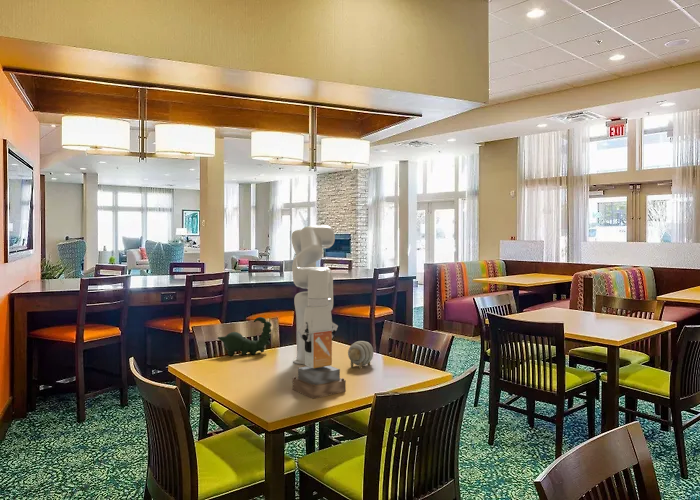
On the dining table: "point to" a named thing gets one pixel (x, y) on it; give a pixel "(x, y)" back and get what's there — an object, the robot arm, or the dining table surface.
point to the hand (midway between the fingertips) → (318, 350)
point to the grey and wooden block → (319, 381)
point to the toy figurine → (247, 340)
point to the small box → (320, 349)
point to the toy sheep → (360, 353)
